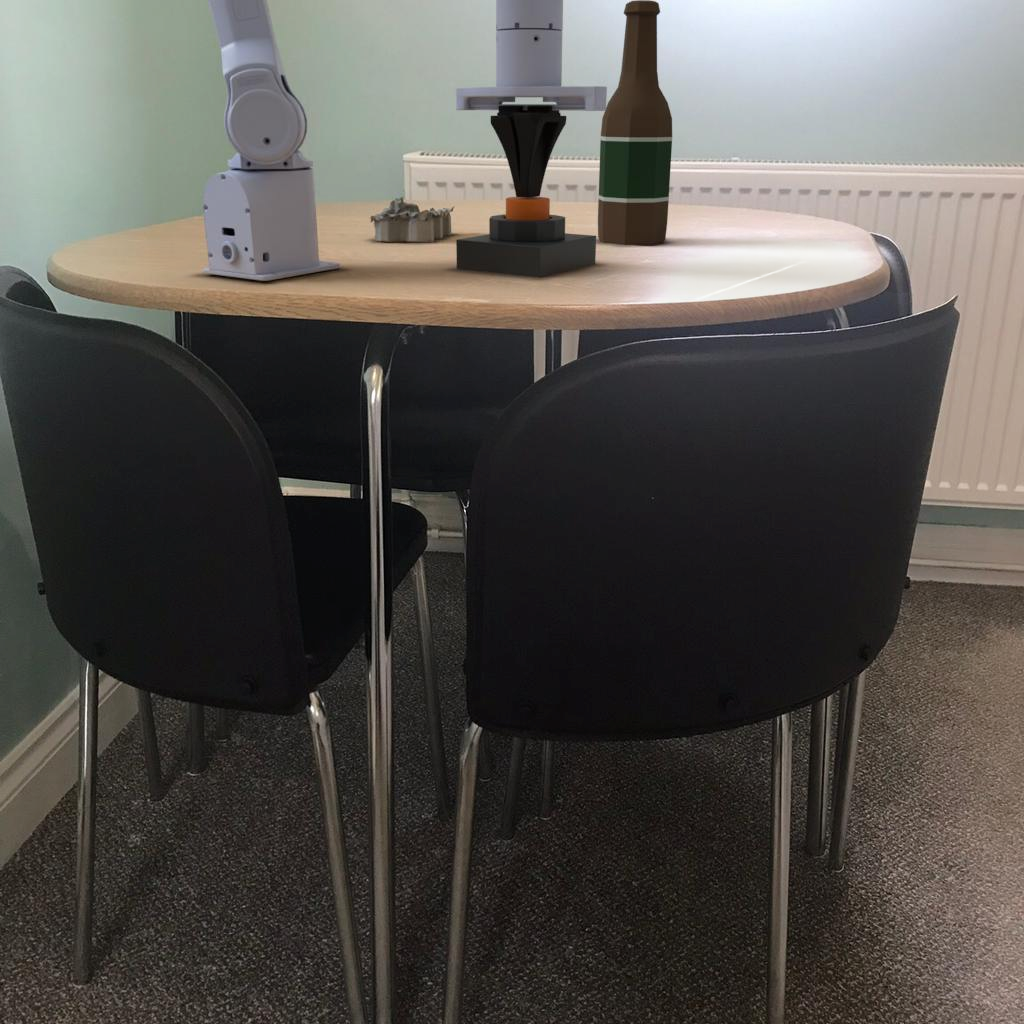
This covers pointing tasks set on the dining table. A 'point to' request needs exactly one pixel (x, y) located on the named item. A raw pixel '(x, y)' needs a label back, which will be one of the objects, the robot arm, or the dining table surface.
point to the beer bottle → (636, 141)
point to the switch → (527, 208)
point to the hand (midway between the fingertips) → (528, 196)
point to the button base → (526, 248)
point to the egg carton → (411, 223)
